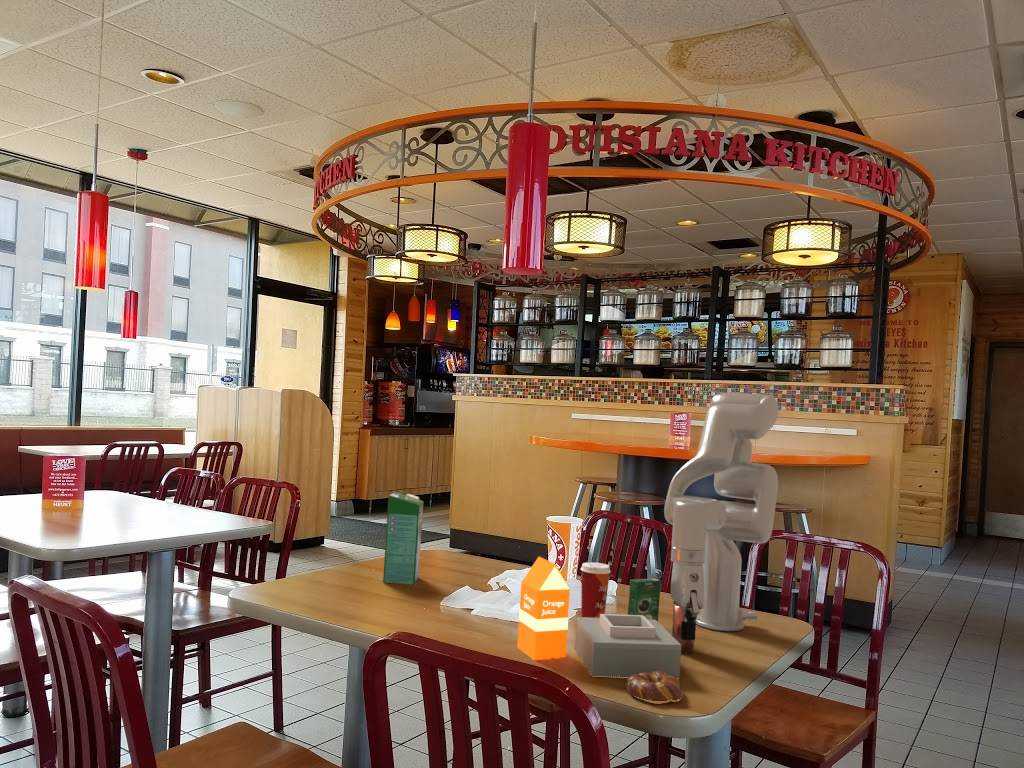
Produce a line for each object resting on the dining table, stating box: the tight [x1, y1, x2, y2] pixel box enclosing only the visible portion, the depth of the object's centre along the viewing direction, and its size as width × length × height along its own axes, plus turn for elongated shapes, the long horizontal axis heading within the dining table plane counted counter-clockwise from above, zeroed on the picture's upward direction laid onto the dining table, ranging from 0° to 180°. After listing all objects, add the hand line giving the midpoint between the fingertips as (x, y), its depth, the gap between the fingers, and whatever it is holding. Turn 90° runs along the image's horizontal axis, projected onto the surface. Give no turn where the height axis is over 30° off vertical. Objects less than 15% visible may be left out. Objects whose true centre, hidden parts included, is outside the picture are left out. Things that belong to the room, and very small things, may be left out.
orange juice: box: [516, 556, 571, 661], centre depth 172 cm, size 8×9×20 cm
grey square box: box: [574, 613, 682, 679], centre depth 168 cm, size 18×18×9 cm
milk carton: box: [382, 491, 424, 585], centre depth 230 cm, size 9×9×25 cm
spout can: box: [671, 603, 696, 654], centre depth 180 cm, size 5×5×11 cm
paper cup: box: [580, 561, 612, 618], centre depth 200 cm, size 8×8×14 cm
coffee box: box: [627, 577, 662, 623], centre depth 191 cm, size 8×3×13 cm, turn 123°
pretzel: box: [624, 671, 684, 701], centre depth 151 cm, size 12×11×4 cm
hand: (683, 634), depth 179 cm, fingers closed on spout can, 5 cm apart
